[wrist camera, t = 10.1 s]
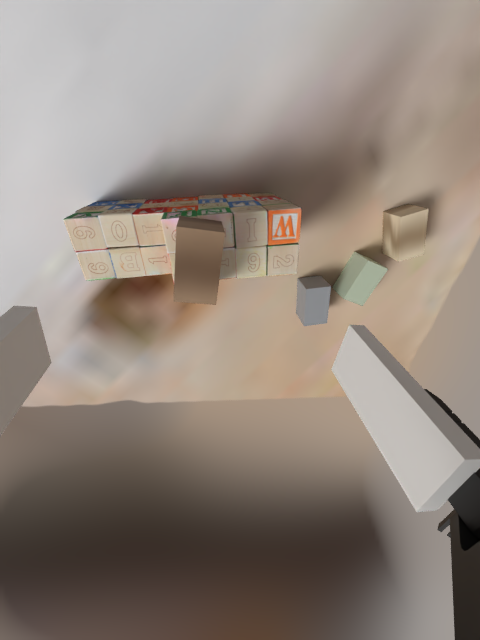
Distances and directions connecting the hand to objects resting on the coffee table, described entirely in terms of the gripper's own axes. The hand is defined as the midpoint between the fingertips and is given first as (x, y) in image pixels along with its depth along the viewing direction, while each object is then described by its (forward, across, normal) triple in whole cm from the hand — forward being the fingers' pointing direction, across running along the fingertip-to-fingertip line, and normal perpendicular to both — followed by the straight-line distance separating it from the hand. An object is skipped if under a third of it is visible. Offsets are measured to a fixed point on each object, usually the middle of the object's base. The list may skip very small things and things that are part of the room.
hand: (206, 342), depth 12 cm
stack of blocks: (+27, -2, -1) cm, 27 cm away
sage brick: (+27, +23, -6) cm, 36 cm away
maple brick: (+27, +27, +1) cm, 38 cm away
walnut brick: (+15, 0, -1) cm, 15 cm away
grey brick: (+27, +17, -10) cm, 33 cm away
